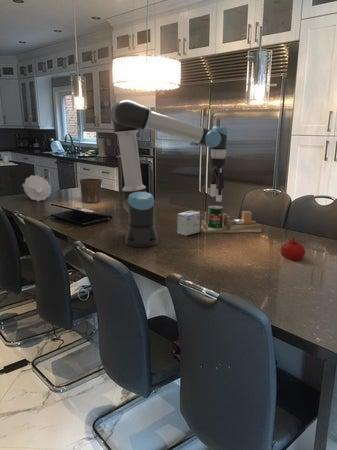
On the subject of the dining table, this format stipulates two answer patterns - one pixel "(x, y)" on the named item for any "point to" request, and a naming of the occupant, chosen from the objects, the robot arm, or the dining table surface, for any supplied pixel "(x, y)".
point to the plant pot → (90, 190)
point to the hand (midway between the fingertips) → (215, 198)
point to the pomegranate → (293, 250)
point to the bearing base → (231, 226)
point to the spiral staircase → (37, 188)
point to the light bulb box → (188, 222)
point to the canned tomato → (215, 216)
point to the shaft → (243, 219)
